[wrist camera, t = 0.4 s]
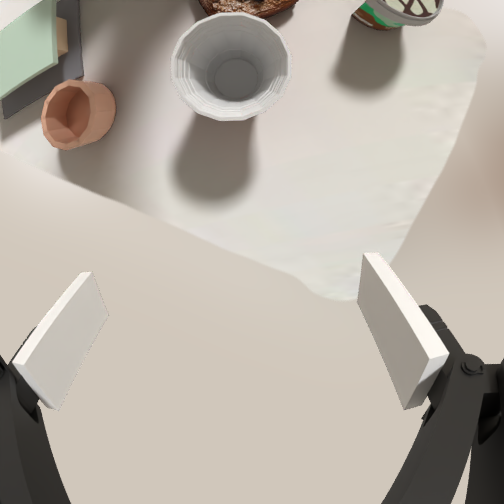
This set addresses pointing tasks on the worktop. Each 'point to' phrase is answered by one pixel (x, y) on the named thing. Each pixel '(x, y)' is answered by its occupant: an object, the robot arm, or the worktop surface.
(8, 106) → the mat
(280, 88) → the plastic cup
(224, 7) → the pastry
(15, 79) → the sheet
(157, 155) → the worktop surface
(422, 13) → the food container
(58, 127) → the bowl
